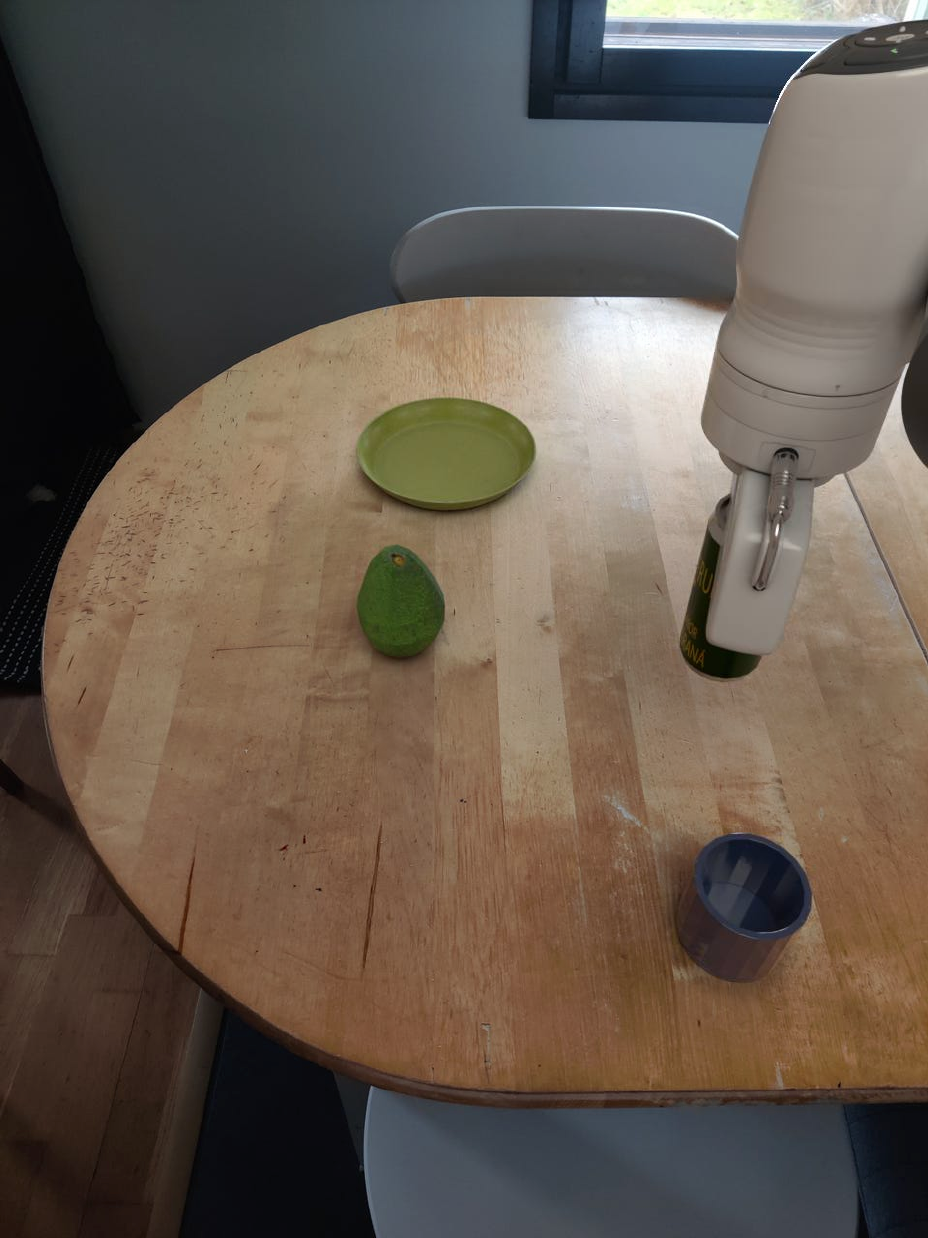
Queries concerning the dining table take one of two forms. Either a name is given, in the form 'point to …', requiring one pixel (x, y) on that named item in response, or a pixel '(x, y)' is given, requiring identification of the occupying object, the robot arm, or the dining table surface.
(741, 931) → the cup
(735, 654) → the dark green drink can
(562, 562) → the dining table surface
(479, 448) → the saucer
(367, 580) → the avocado
